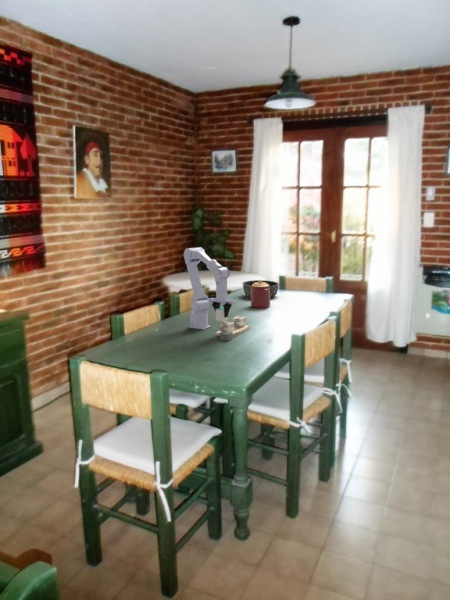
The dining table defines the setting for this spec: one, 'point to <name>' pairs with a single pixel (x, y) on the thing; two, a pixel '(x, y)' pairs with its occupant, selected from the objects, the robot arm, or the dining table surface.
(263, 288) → the canister
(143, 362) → the dining table surface
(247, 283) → the bundt pan
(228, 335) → the box
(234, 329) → the board
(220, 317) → the block
